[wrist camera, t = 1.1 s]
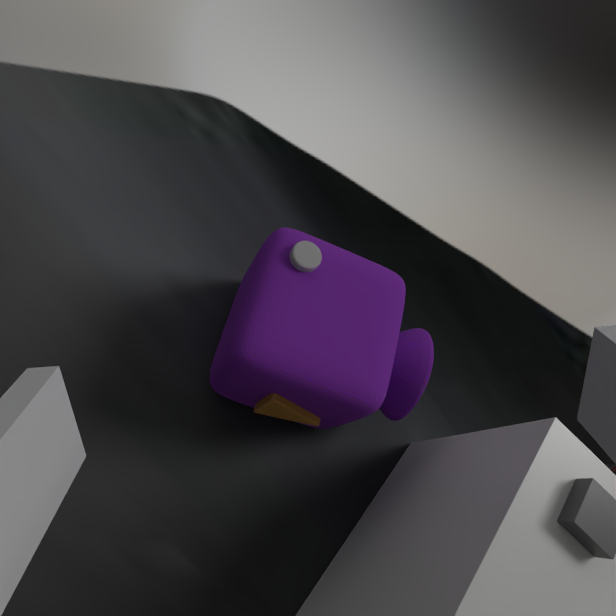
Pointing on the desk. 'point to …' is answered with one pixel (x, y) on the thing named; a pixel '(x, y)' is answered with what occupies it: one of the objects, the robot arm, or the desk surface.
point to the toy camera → (320, 337)
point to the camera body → (482, 532)
